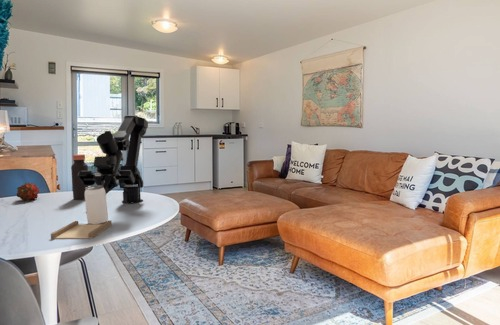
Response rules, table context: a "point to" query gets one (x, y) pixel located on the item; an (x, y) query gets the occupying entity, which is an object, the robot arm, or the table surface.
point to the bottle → (76, 168)
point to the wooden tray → (80, 230)
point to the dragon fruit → (27, 191)
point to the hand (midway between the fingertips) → (100, 197)
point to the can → (96, 204)
